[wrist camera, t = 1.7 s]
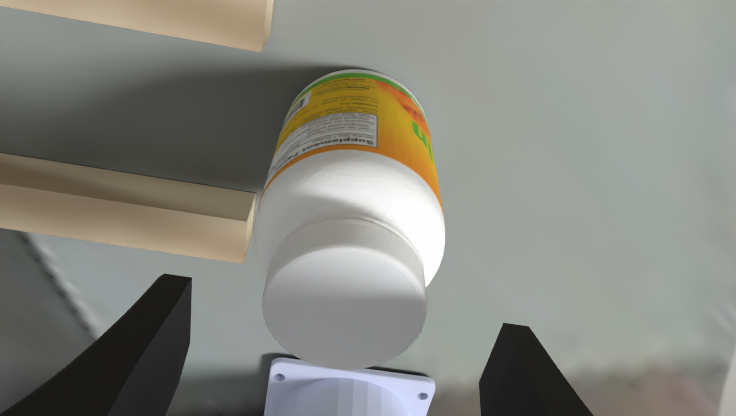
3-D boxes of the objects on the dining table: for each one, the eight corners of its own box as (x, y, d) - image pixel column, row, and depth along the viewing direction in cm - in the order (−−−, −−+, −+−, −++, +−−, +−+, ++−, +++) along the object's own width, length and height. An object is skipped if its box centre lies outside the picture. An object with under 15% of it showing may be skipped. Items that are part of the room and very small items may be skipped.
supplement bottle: (436, 185, 24) (467, 378, 16) (303, 205, 24) (265, 400, 16) (418, 52, 21) (444, 204, 13) (267, 78, 22) (200, 239, 13)
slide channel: (252, 233, 25) (243, 263, 23) (-103, 179, 24) (-140, 207, 22) (276, -29, 20) (267, -14, 18) (-187, -116, 18) (-244, -110, 17)
